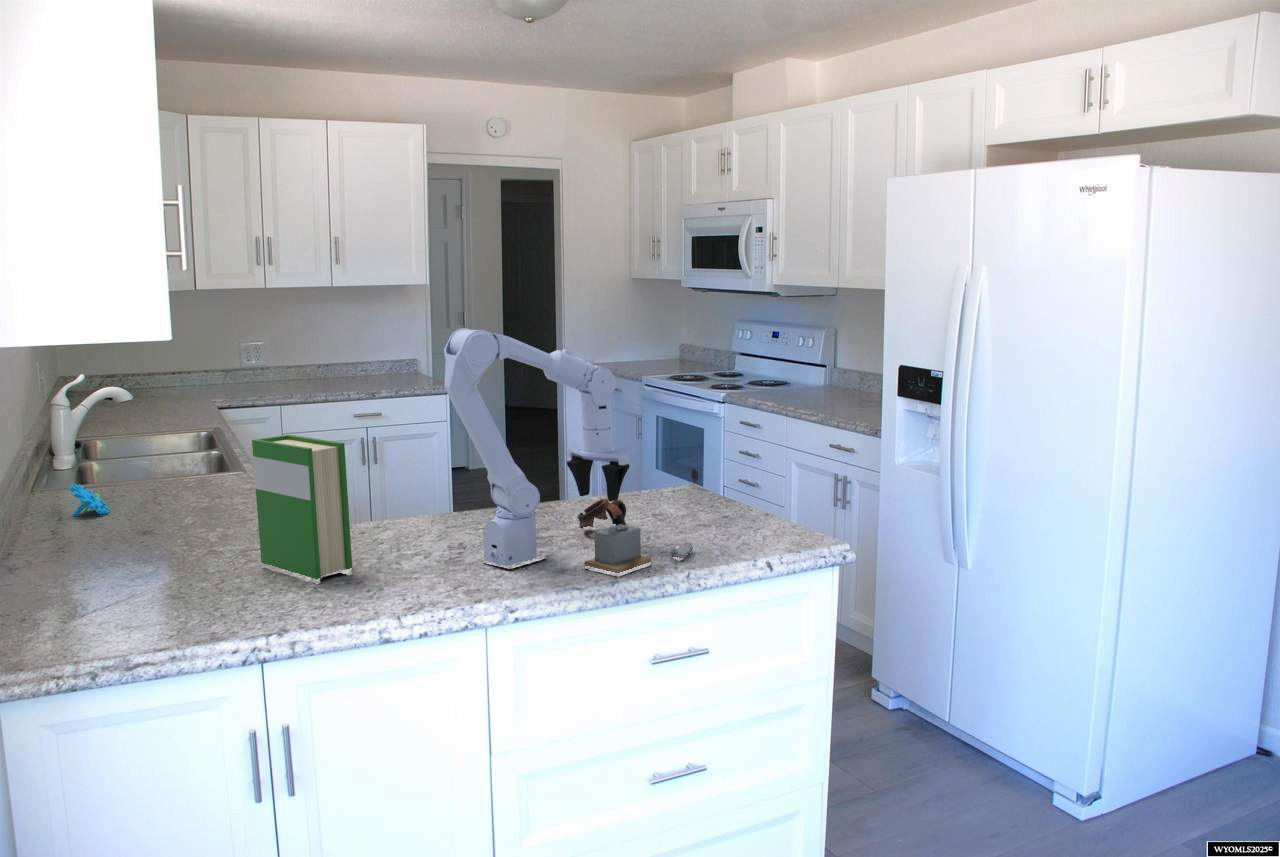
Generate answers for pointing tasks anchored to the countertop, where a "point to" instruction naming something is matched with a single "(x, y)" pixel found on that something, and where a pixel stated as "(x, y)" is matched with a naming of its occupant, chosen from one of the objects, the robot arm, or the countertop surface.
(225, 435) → the countertop surface
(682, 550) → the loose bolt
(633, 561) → the stand
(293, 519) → the hardback book
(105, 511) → the blue fuzzy irregular piece
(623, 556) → the block
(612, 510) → the brown irregular piece
